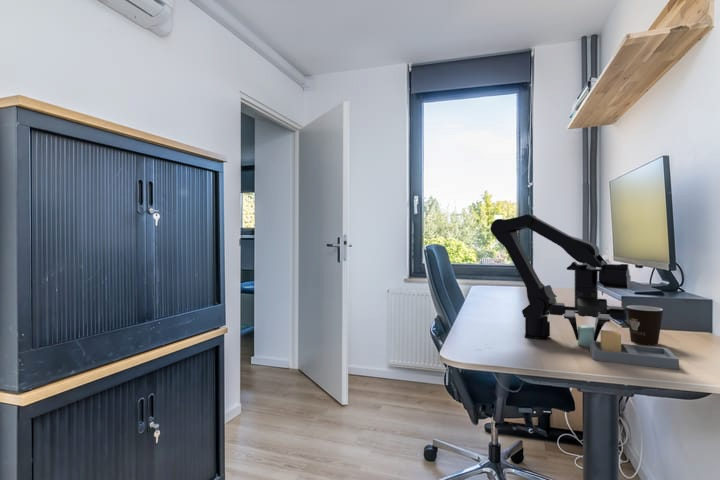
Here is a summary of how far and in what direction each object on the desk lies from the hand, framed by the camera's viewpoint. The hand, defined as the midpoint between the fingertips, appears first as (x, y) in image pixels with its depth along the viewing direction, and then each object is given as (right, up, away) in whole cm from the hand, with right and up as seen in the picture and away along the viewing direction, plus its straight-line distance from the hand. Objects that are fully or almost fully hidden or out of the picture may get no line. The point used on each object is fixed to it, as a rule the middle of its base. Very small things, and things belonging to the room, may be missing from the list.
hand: (585, 340), depth 111 cm
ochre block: (0, 0, -11) cm, 11 cm away
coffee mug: (+18, -1, +3) cm, 19 cm away
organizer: (+4, -1, -13) cm, 13 cm away
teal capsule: (0, -1, 0) cm, 1 cm away
